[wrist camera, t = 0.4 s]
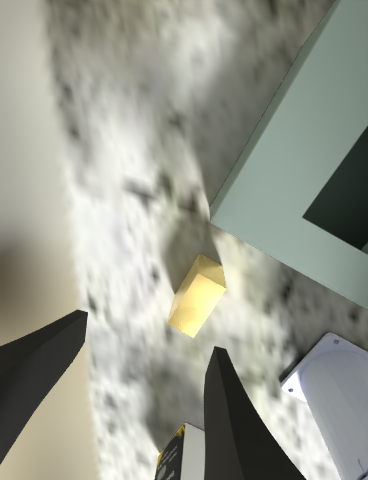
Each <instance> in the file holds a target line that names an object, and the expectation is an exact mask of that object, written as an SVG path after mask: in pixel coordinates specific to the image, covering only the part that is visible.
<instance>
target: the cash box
mask: <svg viewBox="0 0 368 480" xmlns="http://www.w3.org/2000/svg"><path fill="white" fill-rule="evenodd" d="M209 211H210V223H212V224H213V225H215V226H217V227H219V228H221V229H223V230H224V231H226V232H228V233H230V234H232V235H233V236H235V237H237V238H239V239H241V240H242V241H244V242H246V243H248V244H250V245H251V246H253V247H255V248H257V249H259V250H260V251H262V252H264V253H266V254H268V255H269V256H271V257H273V258H275V259H277V260H278V261H280V262H282V263H284V264H286V265H287V266H289V267H291V268H293V269H295V270H296V271H298V272H300V273H302V274H304V275H305V276H307V277H309V278H311V279H313V280H314V281H316V282H318V283H320V284H322V285H323V286H325V287H327V288H329V289H331V290H332V291H334V292H336V293H338V294H340V295H341V296H343V297H345V298H347V299H349V300H351V301H352V302H354V303H356V304H358V305H360V306H361V307H363V308H365V309H367V310H368V0H335V2H334V3H333V5H332V6H331V7H330V9H329V10H328V12H327V13H326V14H325V16H324V17H323V18H322V20H321V21H320V23H319V24H318V25H317V27H316V28H315V29H314V31H313V32H312V34H311V35H310V36H309V38H308V39H307V41H306V42H305V43H304V45H303V46H302V48H301V50H300V52H299V53H298V55H297V57H296V59H295V60H294V62H293V64H292V66H291V67H290V69H289V71H288V72H287V74H286V76H285V78H284V79H283V81H282V83H281V85H280V86H279V88H278V90H277V92H276V93H275V95H274V97H273V99H272V100H271V102H270V104H269V105H268V107H267V109H266V111H265V112H264V114H263V116H262V118H261V119H260V121H259V123H258V125H257V126H256V128H255V130H254V132H253V133H252V135H251V137H250V139H249V140H248V142H247V144H246V145H245V147H244V149H243V151H242V152H241V154H240V156H239V158H238V159H237V161H236V163H235V165H234V166H233V168H232V170H231V172H230V173H229V175H228V177H227V178H226V180H225V182H224V184H223V185H222V187H221V189H220V191H219V192H218V194H217V196H216V198H215V199H214V201H213V203H212V205H211V206H210V208H209Z"/></svg>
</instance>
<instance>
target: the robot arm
mask: <svg viewBox="0 0 368 480" xmlns="http://www.w3.org/2000/svg"><path fill="white" fill-rule="evenodd" d="M87 317H88V312H85V311H81V310H76V311H74V312H72V313H70V314H68V315H66V316H64V317H62V318H61V319H58V320H57V321H55V322H53V323H51V324H49V325H47V326H45V327H43V328H41V329H39V330H37V331H35V332H32V333H30V334H28V335H26V336H24V337H21V338H19V339H17V340H15V341H12V342H10V343H7V344H5V345H3V346H0V464H1V463H2V461H3V460H4V458H5V456H6V455H7V453H8V452H9V450H10V448H11V447H12V445H13V444H14V442H15V441H16V439H17V437H18V436H19V434H20V433H21V431H22V430H23V428H24V427H25V425H26V423H27V422H28V421H29V419H30V417H31V416H32V414H33V413H34V411H35V410H36V408H37V407H38V406H39V404H40V403H41V402H42V400H43V399H44V398H45V396H46V395H47V394H48V393H49V391H50V390H51V389H52V387H53V386H54V385H55V384H56V382H57V381H58V380H59V378H60V377H61V376H62V375H63V373H64V372H65V371H66V369H67V368H68V367H69V366H70V364H71V363H72V362H73V360H74V359H75V357H76V356H77V354H78V352H79V351H80V349H81V347H82V346H83V344H84V342H85V334H86V326H87ZM334 340H336V341H334ZM281 388H282V390H283V391H285V392H287V393H289V394H291V395H293V396H295V397H296V398H298V399H300V400H302V401H304V402H306V403H308V406H309V408H310V410H311V412H312V415H313V417H314V419H315V421H316V424H317V426H318V428H319V430H320V432H321V435H322V437H323V439H324V441H325V444H326V446H327V448H328V450H329V453H330V455H331V457H332V459H333V462H334V464H335V466H336V468H337V471H338V473H339V475H340V477H341V480H368V352H367V351H365V350H363V349H361V348H360V347H358V346H356V345H354V344H352V343H350V342H349V341H347V340H345V339H343V338H341V337H339V336H338V335H336V334H334V333H327V334H325V336H324V337H323V338H322V339H321V340H320V341H319V342H318V343H317V344H316V345H315V346H314V348H313V349H312V350H311V351H310V352H309V353H308V354H307V355H306V356H305V357H304V359H303V360H302V361H301V362H300V363H299V364H298V365H297V366H296V367H295V368H294V369H293V371H292V372H291V373H290V374H289V375H288V376H287V377H286V378H285V379H284V380H283V381H282V383H281ZM289 388H291V389H289ZM204 427H205V469H204V480H306V478H305V477H304V476H303V475H302V474H301V472H300V471H299V470H298V469H297V468H296V466H295V465H294V464H293V463H292V461H291V460H290V459H289V458H288V456H287V455H286V454H285V452H284V451H283V450H282V448H281V447H280V446H279V444H278V443H277V441H276V440H275V439H274V437H273V436H272V435H271V433H270V432H269V430H268V429H267V427H266V426H265V424H264V423H263V421H262V419H261V418H260V416H259V415H258V413H257V411H256V410H255V408H254V406H253V404H252V403H251V401H250V399H249V397H248V395H247V393H246V391H245V390H244V388H243V386H242V384H241V382H240V379H239V377H238V375H237V373H236V371H235V369H234V367H233V364H232V362H231V360H230V357H229V355H228V352H227V350H226V349H224V348H220V347H216V346H215V347H214V350H213V353H212V356H211V359H210V362H209V365H208V368H207V371H206V375H205V385H204Z"/></svg>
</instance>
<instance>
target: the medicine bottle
mask: <svg viewBox="0 0 368 480" xmlns="http://www.w3.org/2000/svg"><path fill="white" fill-rule="evenodd" d="M204 469H205V432H204V431H202V430H200V429H198V428H196V427H194V426H192V425H190V424H188V423H186V422H185V423H183V425H182V426H181V427H180V428H179V430H178V431H177V432H176V434H175V435H174V436H173V437H172V439H171V440H170V441H169V443H168V444H167V445H166V446H165V448H164V449H163V450H162V452H161V453H160V454H159V457H158V463H157V469H156V474H155V480H204Z"/></svg>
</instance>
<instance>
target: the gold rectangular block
mask: <svg viewBox="0 0 368 480" xmlns="http://www.w3.org/2000/svg"><path fill="white" fill-rule="evenodd" d="M225 290H226V283H225V277H224V272H223V266H222V265H220V264H218V263H217V262H215V261H213V260H211V259H209V258H207V257H206V256H204V255H202V254H199V255H198V257H197V259H196V260H195V262H194V264H193V265H192V267H191V269H190V270H189V272H188V274H187V275H186V277H185V279H184V280H183V282H182V284H181V285H180V287H179V289H178V290H177V292H176V294H175V296H174V299H173V303H172V307H171V310H170V314H169V318H168V321H167V324H169V325H171V326H173V327H175V328H176V329H178V330H180V331H182V332H184V333H186V334H188V335H190V336H192V337H194V336H195V334H196V333H197V332H198V330H199V329H200V327H201V326H202V324H203V323H204V321H205V320H206V318H207V317H208V315H209V314H210V312H211V311H212V309H213V308H214V307H215V305H216V304H217V302H218V301H219V299H220V298H221V296H222V295H223V293H224V292H225Z"/></svg>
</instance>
